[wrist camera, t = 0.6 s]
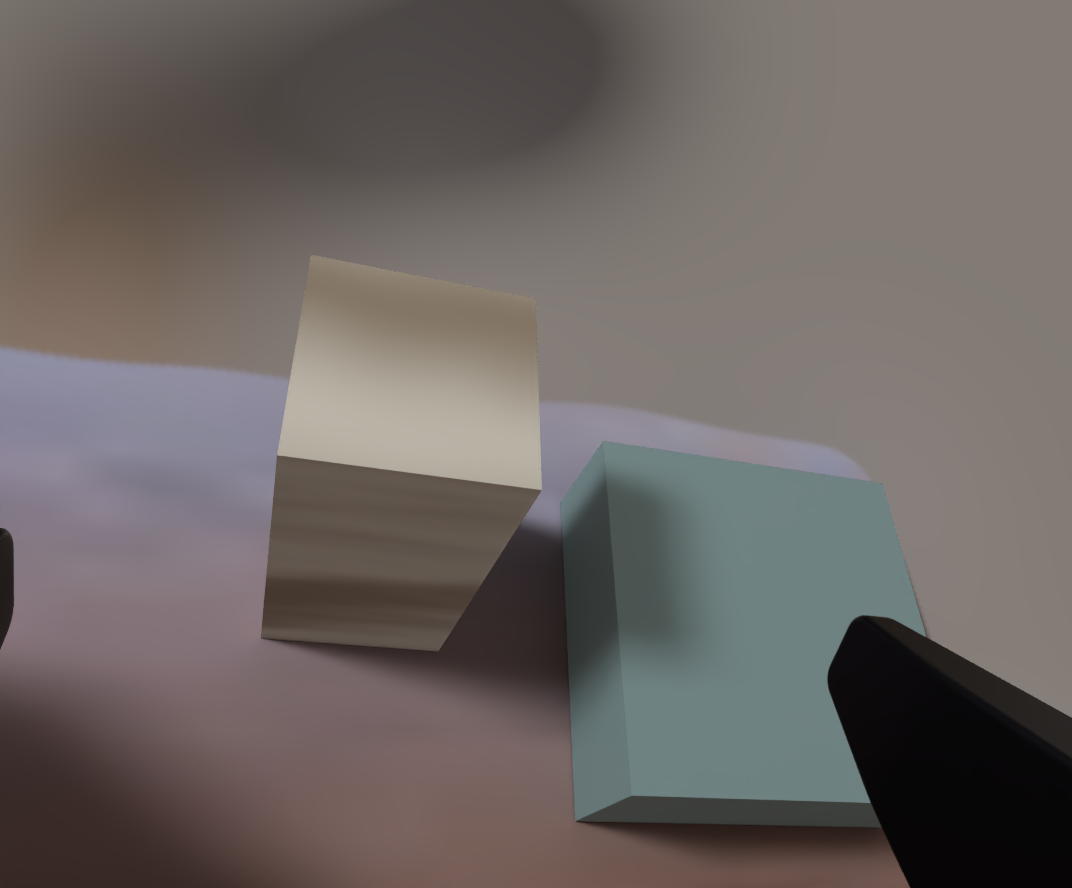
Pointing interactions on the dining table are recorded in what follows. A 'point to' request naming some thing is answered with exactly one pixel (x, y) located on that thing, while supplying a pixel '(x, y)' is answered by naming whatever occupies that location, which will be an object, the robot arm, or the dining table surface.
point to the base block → (718, 636)
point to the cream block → (399, 456)
